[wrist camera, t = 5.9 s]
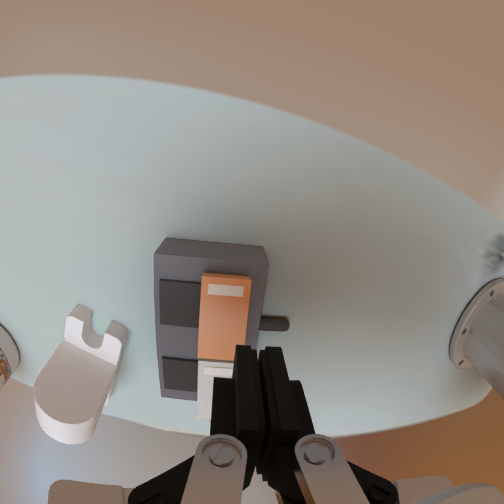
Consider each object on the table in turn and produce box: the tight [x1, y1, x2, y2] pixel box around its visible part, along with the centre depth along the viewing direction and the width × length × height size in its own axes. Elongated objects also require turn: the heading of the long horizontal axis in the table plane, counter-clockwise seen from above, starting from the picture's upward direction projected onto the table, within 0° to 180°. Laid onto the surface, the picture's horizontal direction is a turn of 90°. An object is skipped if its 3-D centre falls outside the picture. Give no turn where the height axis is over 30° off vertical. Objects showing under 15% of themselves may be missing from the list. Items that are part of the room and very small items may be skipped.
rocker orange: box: [198, 272, 252, 361], centre depth 17 cm, size 3×5×1 cm, turn 173°
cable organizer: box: [34, 305, 128, 444], centre depth 18 cm, size 5×10×10 cm, turn 154°
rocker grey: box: [197, 358, 234, 420], centre depth 19 cm, size 3×5×1 cm, turn 173°
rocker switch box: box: [154, 238, 290, 401], centre depth 21 cm, size 10×12×4 cm
